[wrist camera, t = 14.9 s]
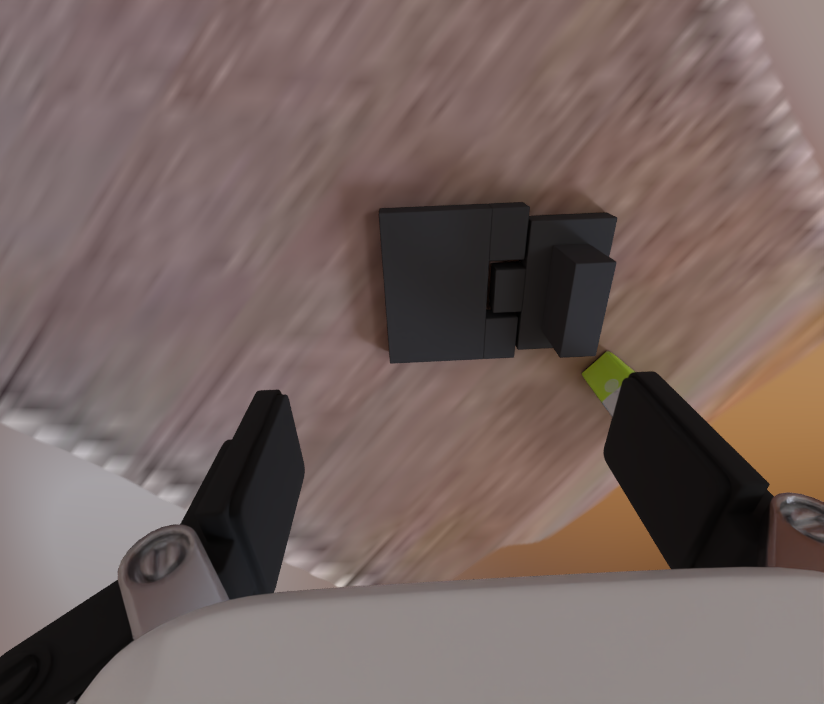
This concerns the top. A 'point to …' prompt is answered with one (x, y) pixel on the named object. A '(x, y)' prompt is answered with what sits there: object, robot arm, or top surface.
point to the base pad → (448, 279)
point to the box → (607, 379)
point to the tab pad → (535, 266)
